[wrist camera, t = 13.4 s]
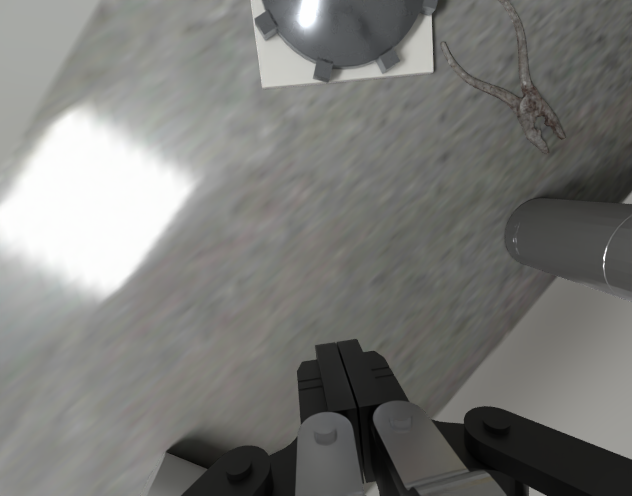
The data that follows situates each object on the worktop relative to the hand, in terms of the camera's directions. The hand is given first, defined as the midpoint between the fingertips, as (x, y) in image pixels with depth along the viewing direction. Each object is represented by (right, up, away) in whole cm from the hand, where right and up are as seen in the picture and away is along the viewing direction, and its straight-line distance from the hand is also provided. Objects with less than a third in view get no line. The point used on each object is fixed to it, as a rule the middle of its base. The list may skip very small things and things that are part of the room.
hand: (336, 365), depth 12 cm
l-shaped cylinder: (-16, -34, +37) cm, 53 cm away
